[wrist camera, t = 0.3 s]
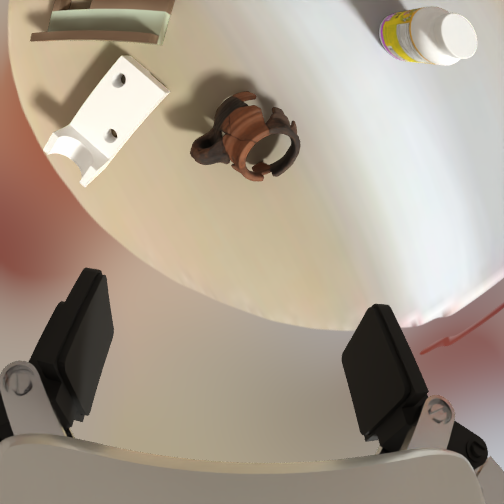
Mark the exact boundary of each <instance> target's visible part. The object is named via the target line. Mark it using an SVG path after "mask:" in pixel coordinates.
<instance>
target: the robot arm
mask: <svg viewBox="0 0 504 504" xmlns="http://www.w3.org/2000/svg"><path fill="white" fill-rule="evenodd" d="M113 333H114V328H113V321H112V315H111V309H110V302H109V295H108V286H107V278H106V275H102V272H101V271H100V270H97V269H90V268H84V270H83V271H82V273H81V274H80V276H79V278H78V280H77V281H76V283H75V285H74V286H73V288H72V290H71V292H70V294H69V296H68V297H67V299H66V301H65V302H63V301H61V302H60V303H59V304H58V305H57V307H56V309H55V310H54V312H53V314H52V316H51V318H50V320H49V322H48V324H47V326H46V327H45V330H44V331H43V334H42V335H41V338H40V339H39V342H38V344H37V345H36V347H35V350H34V352H33V354H32V356H31V358H30V360H29V362H26V361H15V362H12V363H10V364H8V365H7V366H6V367H5V368H4V369H3V371H2V372H1V374H0V504H504V471H503V470H502V469H501V468H500V466H499V465H498V464H497V463H496V462H495V461H494V460H493V458H492V457H491V456H490V457H489V458H487V456H488V451H487V446H486V444H485V442H484V441H483V439H481V438H480V437H479V436H477V435H476V434H474V433H473V432H471V431H470V430H468V429H467V428H465V427H464V426H462V425H460V424H459V423H457V422H456V421H454V420H455V412H454V409H453V407H452V405H451V404H450V402H449V401H448V400H447V399H445V398H444V397H442V396H439V395H433V396H430V397H429V398H428V396H427V393H428V392H429V391H428V389H427V387H426V384H425V382H424V379H423V377H422V374H421V372H420V370H419V367H418V365H417V363H416V361H415V358H414V356H413V354H412V352H411V349H410V347H409V345H408V343H407V341H406V339H405V336H404V334H403V332H402V330H401V328H400V326H399V324H398V322H397V320H396V318H395V315H394V313H393V311H392V309H391V307H390V306H389V305H384V304H374V305H372V307H369V308H368V309H367V311H366V313H365V315H364V317H363V318H362V320H361V322H360V324H359V326H358V327H357V329H356V331H355V333H354V334H353V336H352V338H351V340H350V341H349V343H348V345H347V346H346V348H345V350H344V352H343V354H342V364H343V368H344V371H345V375H346V378H347V382H348V386H349V390H350V393H351V397H352V401H353V405H354V409H355V413H356V417H357V421H358V425H359V429H360V432H361V434H362V435H364V436H365V441H374V440H378V439H379V443H380V445H379V447H378V449H377V451H376V453H375V455H370V456H364V457H355V458H348V459H338V460H327V461H315V462H296V463H238V462H219V461H206V460H195V459H185V458H177V457H169V456H162V455H154V454H149V453H143V452H138V451H132V450H127V449H121V448H116V447H111V446H107V445H103V444H98V443H94V442H89V441H85V440H80V439H75V437H74V435H73V433H72V431H71V429H70V427H72V424H73V421H74V420H77V421H80V422H83V419H84V415H87V416H88V415H89V413H90V411H91V407H92V403H93V400H94V396H95V392H96V389H97V386H98V383H99V379H100V376H101V373H102V369H103V366H104V363H105V360H106V357H107V354H108V351H109V347H110V344H111V341H112V338H113Z"/></svg>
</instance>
